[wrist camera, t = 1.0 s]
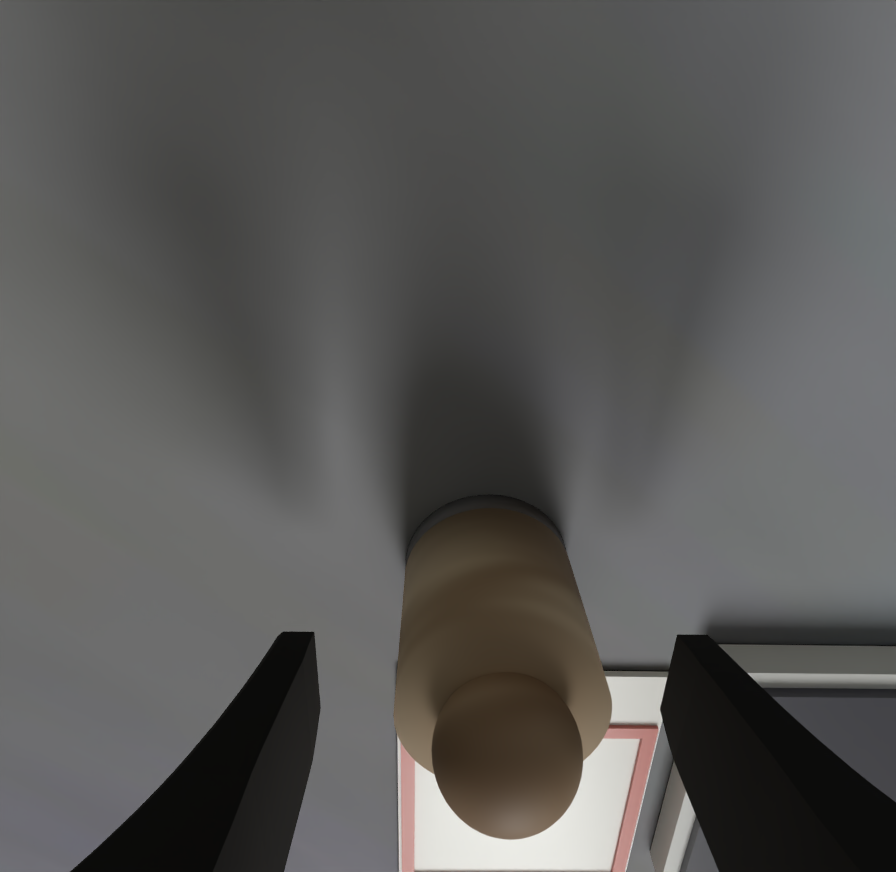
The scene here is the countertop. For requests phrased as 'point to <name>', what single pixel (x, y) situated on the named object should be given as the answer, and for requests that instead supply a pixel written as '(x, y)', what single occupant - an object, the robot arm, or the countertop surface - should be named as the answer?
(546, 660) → the stamp
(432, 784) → the sheet
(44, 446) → the countertop surface
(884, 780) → the ink pad
